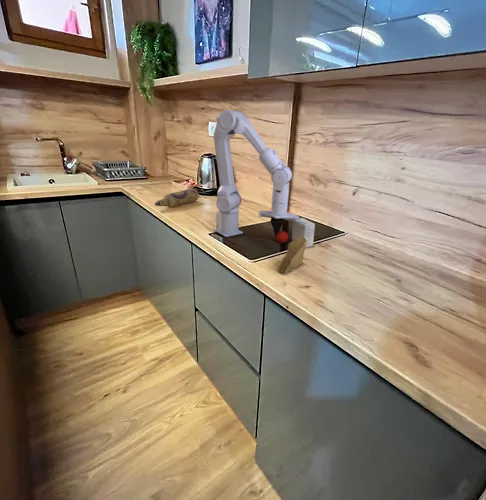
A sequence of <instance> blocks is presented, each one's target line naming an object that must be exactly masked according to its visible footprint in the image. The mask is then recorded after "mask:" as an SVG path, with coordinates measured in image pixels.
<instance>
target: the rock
mask: <svg viewBox="0 0 486 500" xmlns="http://www.w3.org/2000/svg"><path fill="white" fill-rule="evenodd" d="M306 243H307V241H306V239H305V238H304V237H299V238H297V239H295V240H293V241H292V240H291V242H289V243H288V247H287V250H286V252H285V255H284V256H283V258H282V260H281V264H280V266H279V267H278V270H277V271H278V272H280V273H282V274H286V273H288V272H289V271H291V270H293V269H296V268H297V267H298V266H301V265H302V264H303V261H304V254H305V252H306V248H307V247H306Z"/></svg>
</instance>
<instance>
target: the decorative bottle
mask: <svg viewBox="0 0 486 500" xmlns="http://www.w3.org/2000/svg"><path fill="white" fill-rule="evenodd" d="M199 198H200V197H199V192H198V190H196V189H195V188H188V189H184V190H183V189H182V190H179V191H176V192H171V193H167V194H165V195H164V197H163V198H161V199H159V200H157V201H155V203H154V205H155V207H169V208H174V207H179V206H181V205H186V204H189V203H192V202H197V201H198V200H199Z"/></svg>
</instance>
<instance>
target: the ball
mask: <svg viewBox="0 0 486 500" xmlns="http://www.w3.org/2000/svg"><path fill="white" fill-rule="evenodd" d="M274 241H275V242H276V243H278V244H285V243H287V242H288V241H289V234H288V233H287V231H284V230H280V231H279V233H278V235H276V237H275V236H274Z"/></svg>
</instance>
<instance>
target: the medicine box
mask: <svg viewBox="0 0 486 500" xmlns="http://www.w3.org/2000/svg"><path fill="white" fill-rule="evenodd" d="M315 227H316V223H314V222H312V221H310V220H308V219H306V218H303V217H299V219H298V222H295V221H292V228H291V229H292V231H291V242H292V241H293V240H295V239H297V238H299V237H304V238H305V239H306V241H307V243H306V248H309V247H313V246H314V238H315Z"/></svg>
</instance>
